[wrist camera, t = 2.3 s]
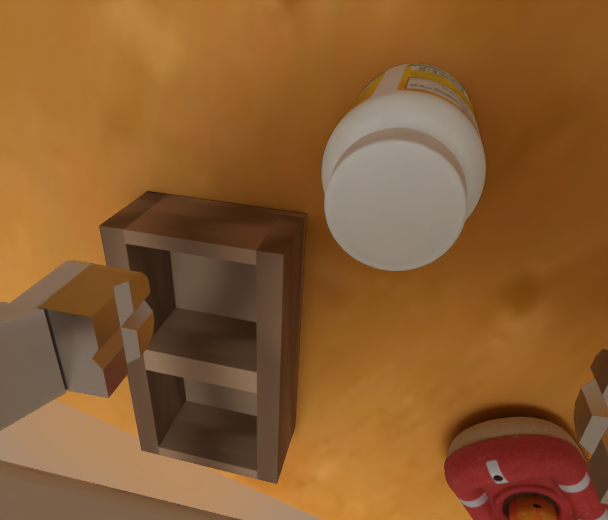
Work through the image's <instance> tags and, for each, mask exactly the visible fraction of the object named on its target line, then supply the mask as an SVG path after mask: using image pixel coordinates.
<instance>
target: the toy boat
mask: <svg viewBox="0 0 608 520" xmlns="http://www.w3.org/2000/svg"><path fill="white" fill-rule="evenodd" d="M587 465H588V463H587V461H586V459H585V458H584V456H583V454H582V452H581V450H580V448H579V447H578V445H577V444H576V442H575V441H574V439H573V438H572V437H571V436H570V435H569V434H568V433H567V432H566V431H565V430H564V429H563V428H561V427H560V426H558V425H556V424H554V423H552V422H550V421H547V420H543V419H538V418H533V417H507V418H499V419H494V420H489V421H485V422H482V423H479V424H476V425H474V426H471V427H469V428H467V429H466V430H464V431H462V432H461V433H460V434H459V435H457V436H456V437H455V438H454V440H453V441H452V443H451V445H450V447H449V450H448V456H447V459H446V461H445V464H444V469H445V477H446V481H447V483H448V485H449V486H450V488H451V489H452V490H453V492H454V493H455V494H456V495H457V497H458V498H459V500H460V501H461V502H462V504H463V505H464V507H465V508H466V510H467V511H468V513H469V514H470V516H471V517H472V518H473V520H608V505H607V504H603V503H600V501H599V498H598V495H597V492H596V490H595V487H594V484H593V481H592V478H591V475H590V473H589V470H588V467H587Z"/></svg>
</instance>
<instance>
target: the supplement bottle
mask: <svg viewBox="0 0 608 520" xmlns="http://www.w3.org/2000/svg"><path fill="white" fill-rule="evenodd" d="M321 174H322V185H323V190H324V194H325V200H324V210H325V216H326V221H327V224H328V227H329V229H330V231H331V233H332V235H333V237H334V239H335V240H336V241H337V243H338V244H339V245H340V246H341V247H342V249H343V250H344V251H345V252H347V253H348V254H349V255H350V256H351V257H353V258H354V259H356V260H358V261H359V262H361V263H363V264H365V265H368V266H371V267H373V268H377V269H381V270H388V271H405V270H411V269H415V268H419V267H422V266H424V265H427V264H429V263H431V262H433V261H435V260H436V259H438V258H439V257H440V256H442V255H443V254H444V253H445V252H446V251H448V250H449V249H450V248H451V246H452V245H453V244H454V243H455V241H456V240H457V238H458V237H459V235H460V233H461V231H462V229H463V226H464V223H465V221H466V220H467V218H468V217H469V216H470V215H471V213H472V212H473V210H474V209H475V207H476V205H477V203H478V201H479V199H480V197H481V194H482V191H483V187H484V182H485V176H486V160H485V152H484V148H483V144H482V140H481V137H480V133H479V129H478V125H477V121H476V118H475V114H474V110H473V107H472V104H471V101H470V98H469V96H468V94H467V92H466V91H465V89H464V88H463V86H462V85H461V84H460V83H459V82H458V81H457V80H456V79H455V78H454V77H453V76H452V75H450V74H449V73H447V72H446V71H444V70H442V69H440V68H437V67H435V66H431V65H427V64H418V63H411V64H404V65H400V66H396V67H393V68H391V69H389V70H387V71H385V72H383V73H382V74H380V75H378V76H377V77H376V78H374V79H373V80H372V81H371V82H370V83H369V84H368V85H367V86H366V87H365V89H364V90H363V91H362V92H361V94H360V95H359V97H358V98H357V99H356V101H355V102H354V103H353V105H352V106H351V107H350V109H349V110H348V111H347V112H346V114H345V115H344V116H343V117H342V119H341V120H340V122H339V123H338V125H337V126H336V127H335V129H334V131H333V133H332V134H331V136H330V138H329V140H328V143H327V145H326V148H325V151H324V155H323V160H322V171H321Z"/></svg>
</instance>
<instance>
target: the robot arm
mask: <svg viewBox="0 0 608 520" xmlns="http://www.w3.org/2000/svg"><path fill="white" fill-rule="evenodd" d="M149 294H150V286H149V281H148V277H147V276H146V275H144V274H143V273H141V272H136V271H131V270H125V269H120V268H115V267H109V266H104V265H99V264H93V263H87V262H81V261H66V262H65V263H63V264H62V265H61V266H59V267H58V268H57V269H55V270H54V271H53V272H51V273H50V274H48V275H47V276H46V277H44V278H43V279H42V280H40V281H39V282H38V283H36V284H35V285H34V286H32V287H31V288H30V289H28V290H27V291H26V292H24V293H23V294H21V295H20V296H19V297H17V298H16V299H15V300H13V301H12V302H11V303H7V302H0V430H2V429H4V428H6V427H7V426H9V425H11V424H13V423H14V422H16V421H18V420H19V419H21V418H23V417H25V416H26V415H28V414H30V413H32V412H33V411H35V410H37V409H38V408H40V407H42V406H44V405H45V404H47V403H49V402H50V401H52V400H54V399H56V398H57V397H59V396H61V395H63V394H64V393H66V390H67V391H73V392H78V393H84V394H89V395H95V396H100V397H106V398H109V397H110V396H111V394H112V393H113V392H114V391H115V389H116V388H117V387H118V386H119V384H120V383H121V382H122V380H123V379H124V378H125V377H126V375H127V374H128V367H127V363H129V362H132V361H134V360H136V359H138V358H140V357H141V356H142V355H143V353H144V352H145V351H146V349H147V348H148V346H149V343H150V341H151V338H152V335H153V330H154V315H153V311H152V309H151V308H150V307H149V306H148V304H147V303H146V302H145V299H146V298H147V296H148V295H149ZM590 368H591V370H592V372H593V375H594V377H595V380H593V381H592V382H590V383H588V384H587V385H585V386H583V387H581V390H580V392H579V395H578V397H577V399H576V402H575V410H574V425H575V432H576V435H577V438H578V441H579V443H580V444H581V445H582V446H583V447H584V448H585V449H586V450H587V451H588V452H589V453H590V454H591V455H592V457H591V459H590V461H589V463H588V465H587V467H588V470H589V473H590V475H591V478H592V481H593V484H594V487H595V490H596V492H597V495H598V498H599V501H600V503H603V504H607V505H608V350H605V349H602V350H601V351H600V352H599V353H598V354H597V355H596V357H595V359H594V361H593V363H592V365H591V367H590ZM0 520H241V519H236V518H233V517H228V516H224V515H220V514H216V513H212V512H208V511H204V510H200V509H196V508H192V507H188V506H184V505H180V504H176V503H172V502H168V501H164V500H159V499H155V498H151V497H147V496H143V495H139V494H135V493H131V492H127V491H123V490H119V489H115V488H110V487H107V486H103V485H99V484H95V483H90V482H86V481H82V480H78V479H74V478H70V477H66V476H62V475H58V474H54V473H50V472H45V471H42V470H38V469H33V468H29V467H25V466H21V465H17V464H13V463H9V462H5V461H1V460H0Z"/></svg>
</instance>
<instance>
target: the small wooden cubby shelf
mask: <svg viewBox="0 0 608 520" xmlns="http://www.w3.org/2000/svg"><path fill="white" fill-rule="evenodd" d="M306 216H307V214H304V213H297V212H290V211H283V210H276V209H269V208H262V207H255V206H248V205H241V204H234V203H227V202H220V201H213V200H206V199H199V198H192V197H184V196H177V195H170V194H163V193H156V192H149V191H147V192H146V193H144V194H143V195H142V196H140V197H139V198H137V199H136V200H135V201H133V202H132V203H130V204H129V205H128V206H126V207H125V208H123V209H122V210H121V211H119V212H118V213H116V214H115V215H113V216H112V217H111V218H109V219H108V220H106V221H105V222H104V223H102V224H101V225H99V228H100V233H101V238H102V243H103V249H104V254H105V259H106V265H107V266H109V267H115V268H120V269H125V270H131V271H136V272H141V273H143V274H144V275H146V276H147V277H148V281H149V286H150V294H149V295H148V296H147V298H146V299H145V302H146V303H147V304H148V306H149V307H150V308H151V309H152V311H153V315H154V330H153V335H152V338H151V341H150V343H149V346H148V348H147V349H146V351H145V352H144V353H143V355H142V356H141V357H140V358H138V359H136V360H134V361H132V362H129V363H127V367H128V374H127V376H128V381H129V386H130V392H131V397H132V402H133V408H134V413H135V418H136V424H137V429H138V434H139V439H140V445H141V450H142V451H146V452H150V453H154V454H158V455H162V456H167V457H170V458H175V459H179V460H182V461H186V462H191V463H194V464H198V465H202V466H207V467H211V468H215V469H219V470H223V471H227V472H231V473H235V474H239V475H243V476H247V477H251V478H255V479H259V480H263V481H267V482H271V483H275V484H277V482H278V479H279V476H280V473H281V470H282V466H283V463H284V460H285V457H286V454H287V451H288V448H289V444H290V441H291V438H292V435H293V432H294V429H295V421H296V402H297V384H298V365H299V346H300V328H301V309H302V290H303V272H304V253H305V234H306Z"/></svg>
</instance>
